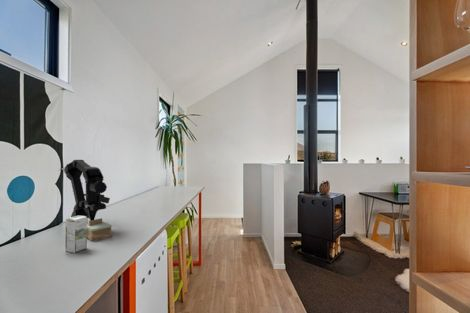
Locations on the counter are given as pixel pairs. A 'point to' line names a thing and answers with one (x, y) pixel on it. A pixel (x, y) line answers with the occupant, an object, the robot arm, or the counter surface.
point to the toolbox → (98, 234)
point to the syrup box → (76, 234)
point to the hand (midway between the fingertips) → (92, 221)
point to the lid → (97, 225)
